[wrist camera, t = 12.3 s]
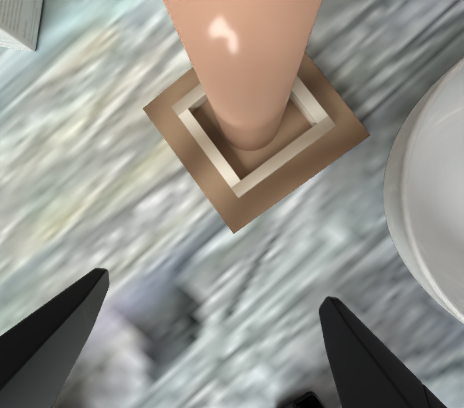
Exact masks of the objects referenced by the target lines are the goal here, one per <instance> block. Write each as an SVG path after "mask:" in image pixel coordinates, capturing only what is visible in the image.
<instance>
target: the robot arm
mask: <svg viewBox="0 0 464 408" xmlns="http://www.w3.org/2000/svg"><path fill="white" fill-rule="evenodd" d="M108 288H109V274H108V270H107V269H104V268H95V269H93V270H92V271H90V272H89V273H88V274H86V275H85V276H83V277H82V278H81V279H79V280H78V281H76V282H75V283H74V284H72V285H71V286H69V287H68V288H67V289H65V290H64V291H62V292H61V293H60V294H58V295H57V296H55V297H54V298H53V299H51V300H50V301H49V302H47V303H46V304H44V305H43V306H42V307H40V308H39V309H37V310H36V311H35V312H33V313H32V314H30V315H29V316H28V317H26V318H25V319H23V320H22V321H21V322H19V323H18V324H17V325H15V326H14V327H12V328H11V329H10V330H8V331H7V332H5V333H4V334H3V335H1V336H0V408H52V406H53V404H54V402H55V400H56V398H57V396H58V394H59V392H60V391H61V389H62V387H63V385H64V383H65V381H66V379H67V377H68V375H69V373H70V371H71V369H72V367H73V366H74V364H75V362H76V360H77V358H78V356H79V354H80V352H81V350H82V348H83V346H84V344H85V343H86V341H87V339H88V337H89V335H90V333H91V331H92V328H93V326H94V324H95V321H96V319H97V316H98V313H99V311H100V308H101V306H102V303H103V301H104V298H105V296H106V293H107V291H108ZM319 316H320V321H321V327H322V332H323V338H324V343H325V348H326V352H327V356H328V359H329V363H330V367H331V370H332V374H333V377H334V381H335V384H336V388H337V391H338V395H339V398H340V402H341V405H342V408H447V407H446V406H445V405H444V404H443V403H442V402H441V401H440V400H439V399H438V398H437V397H436V396H435V395H434V394H433V393H432V392H431V391H430V390H429V389H428V388H427V387H426V386H425V385H423V384H422V382H421V381H420V380H419V379H418V378H417V377H416V376H415V375H414V374H413V373H412V372H411V371H410V370H409V369H408V368H407V367H406V366H405V365H404V364H403V363H402V362H401V361H400V360H399V359H398V358H397V357H396V356H395V355H394V354H393V353H392V352H391V351H390V350H389V349H388V348H387V347H386V346H385V345H384V344H383V343H382V342H381V341H380V340H379V339H378V338H377V337H376V336H375V335H374V334H373V333H372V332H371V331H370V330H369V329H368V328H367V327H366V326H365V325H364V324H363V323H362V322H361V321H360V320H359V319H358V318H357V317H356V316H355V315H354V314H353V313H352V312H351V311H350V310H349V309H348V308H347V307H346V306H345V305H344V304H343V303H342V302H341V301H340V300H339V299H338V298H336V297H330V296H328V297H326V298H325V300H324V301H323V303H322V304H321V306H320V308H319ZM311 398H314V399H313V400H310V399H311ZM284 408H325V406H324V405H323V403H322V402H321V401H320V399H319V398H318V396H317V395H316V394H315V393H314V392H308V393H306V394H305V395H303V396H302V397H300V398H298V399H297V400H295V401H294V402H292V403H290V404H289V405H287V406H285V407H284Z"/></svg>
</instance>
